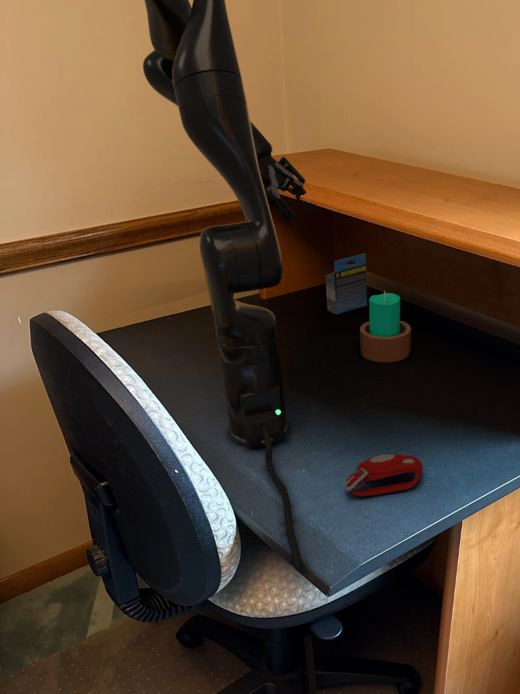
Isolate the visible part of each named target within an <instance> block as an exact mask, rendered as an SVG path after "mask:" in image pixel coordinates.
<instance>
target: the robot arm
mask: <svg viewBox="0 0 520 694" xmlns="http://www.w3.org/2000/svg"><path fill="white" fill-rule="evenodd" d="M143 1H144V5H145V11H146V15H147V16H146V17H147V25H148V32H149V39H150V44H151V46H152V48H153V49H154V50H152V51H151V52H149V54H147V56H146V57H145V58H144V60H143V61H142V62H143V63H142V70H143V74H144V77H145V79H146V82H147V83H148V84H149V85H150V87H151V88H152V89H153V90H154V91H155V92H156V93H158V94H159V95H160V96H161V97H163V98H165V99H166V100H167V101H169V102H170V103H172V104H173V105H174V106H176V107H177V108H178V112H179V117H180V122H181V125H182V127H183V130H184V131H185V133H186V135H187V136H188V139H189V140H190V142H192V144H193V145H194V146H195V148H196V149H197V150H198V151H199V153H201V155H202V156H203V157H204V158H205V159H206V160H207V162H209V163H210V165H211V166H212V167H213V168H214V169H215V170H216V171H217V172H218V173H219V175H220V176H221V177H222V178H223V179H224V180H225V182H226V183H227V185H228V186H229V188H230V189H231V191H232V193H233V194H234V196H235V197H236V199H237V201H238V203H239V206H240V208H241V210H242V211H243V212H242V213H243V215H244V218H245V221H244V222H236V223H228V224H221V225H219V224H218V225H214V226H208V227H205V228H204V229H202V231H201V233H200V237H199V251H200V252H199V253H200V258H201V264H202V269H203V273H204V278H205V282H206V286H207V291H208V296H209V302H210V308H211V314H212V319H213V326H214V331H215V338H216V346H217V352H218V358H219V365H220V371H221V378H222V383H223V388H224V389H223V390H224V397H225V403H226V409H227V415H228V420H229V422H228V423H229V432H230V436H231V439H232V440H233V441H234V442H235V443H238V444H240V445H243V446H246V447H247V448H248V449H249V450H251V449H255V448H259V447H263V446H265V447H264V448H265V456H264V457H265V459H264V460H265V466H266V470H267V473H268V475H269V477H270V478H271V480H272V482H273V484H274V485H275V487H276V488H277V489H278V491H279V494H280V497H281V500H282V505H283V515H284V516H283V517H284V525H285V530H286V531H285V532H286V536H287V541H288V544H289V547H290V551H291V557H292V562H293V568H294V569H295V570H296V571H300V570H302V569H303V563H302V559H301V553H300V549H299V544H298V542H297V541H298V540H297V537H296V534H295V530H294V524H293V517H292V508H291V501H290V496H289V493H288V489H287V488H286V485H284V483H283V482H282V480H281V478H279V476H278V475H277V473H276V470H275V467H274V463H273V444H276V443H280V442H284V441H286V436H287V433H288V429H289V427H288V420H287V416H286V415H287V413H286V405H285V396H284V395H285V394H284V386H283V385H284V384H283V374H282V364H281V363H282V362H281V354H280V343H279V334H278V333H279V332H278V324H277V318H276V316H275V314H274V313H273V312H272V311H271V310H270V309H267V308H265V307H262V306H259V305H254V304H248V303H245V302H241V301H239V300H237V299H235V298H234V295H235V294H239V293H247V292H253V291H257V290H259V291H260V290H264V289H269V288H270V289H271V288H274V287H277V286H279V285H280V283H281V281H282V279H283V272H284V270H283V259H282V251H281V247H280V243H279V239H278V235H277V231H276V227H275V223H274V220H273V217H272V216H273V215H272V213H271V209H274V211H276V213H277V214H278V215H279V216H280V218H282V219H283V221H284V222H285V223H287V224H288V223H291V222H292V221H293V219H294V218H295V217H296V213H295V211H294V210H293V208H291V206H290V205H288V203H287V202H286V201H285V200H284V199H283V198H282V197H281V195H280V192H279V190H280V191H281V192H284V193H285V192H287V193H290V194H291V195H293V196H294V198H295V199H296V200H297V202H298V203H299V204H300V205H301V206H302V207H303V208H304V210H305V211H307V212H311V211H312V209H314V207H315V206H316V204H312V203H308V202H306V201H303V200H300V196H301V195H304V194H306V192H307V191H306V190H305V188H304V186H305V185H304V184H305V183H306V179H305V178H304V176H302V174H301V173H300V172H299V171H298V170H297V169H296V167H294V165H293V164H291V162H290V161H289V160H288V159H287V158H286V157H285V156H282V157H281V158H280V159H279V160H278V161H277V160H276V159H275V158H274V157H273V156H272V152H273V145H272V143H270V142H269V140H268V139H267V138H266V137H265V136H264V135H263V134H262V132H261V131H260V130H259V129H258V128H257V126H256V125H255V124H254V123H253V122H252V121H251V118H250V113H249V106H248V101H247V96H246V91H245V86H244V80H243V77H242V72H241V68H240V63H239V60H238V56H237V51H236V47H235V43H234V38H233V34H232V30H231V25H230V20H229V17H228V16H229V15H228V9H227V5H226V0H192V4H191V2H190V0H143ZM295 195H296V196H295ZM301 199H302V198H301ZM270 208H271V209H270ZM303 643H304V652H305V660H306V669H307V679H308V688H309V689H308V690H309V694H318V689H317V680H316V670H315V669H316V668H315V660H314V652H313V651H314V649H313V641H312V634H309V635H307V636H304V637H303Z"/></svg>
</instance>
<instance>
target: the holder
mask: <svg viewBox="0 0 520 694" xmlns="http://www.w3.org/2000/svg"><path fill="white" fill-rule="evenodd" d="M359 338H360V341H359V342H360V355H361V356H362V357H363V358H364V359H366V360H368V361H370V362H376V363H395V362H399V361H402V360H405V359H407V358H408V357H409V355H410V354H411V349H412V348H411V346H412V328H411V325H409V323H407V322H406V321H403V320H400V335H397V336H392V337H379V336H373V335H371V334H370V322H369V320H368V321H366V322H364V323H363V324H362V325H360V327H359Z"/></svg>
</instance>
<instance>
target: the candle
mask: <svg viewBox="0 0 520 694" xmlns="http://www.w3.org/2000/svg"><path fill="white" fill-rule="evenodd" d="M368 310H369V312H368V314H369V315H368V316H369V318H368V319H369V320H368V321H369V322H370V334H371V335H373V336H379V337H392V336H397V335H400V321H401V297H400V295H398V294H395V293H394V292H393V293H392V292H391V293H390V292H386V290H383V293H381V294H377V295H376V294H375V295H374V294H373V295H371V296H370V297H369V299H368Z"/></svg>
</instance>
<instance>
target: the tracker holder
mask: <svg viewBox="0 0 520 694" xmlns="http://www.w3.org/2000/svg"><path fill="white" fill-rule="evenodd" d="M356 470H357V472H354V473H352V474H350V475H349V476H348V477H347V479H346V481H345V483H344V484H343V488H344V489H346V490H347V492H350V493H351V494H352V495H354V496H358V497H370V496H378V495H384V494H389V493H394V492H396V493H397V492H402V491H406V490H410V489H411V488H413V487H414V486H416V485H417V483H418V482H419V481H420V479H421V477H422V475H423V472H424V468H423V463H422V461H421V459H419V458H418V457H416V456H413V455H407V454H400V453H399V454H397V453H380V454H376V455H374V456H371V457H369V458H368V459H365V460H363V461H361V462H360V463H359V464H358V465H357V466H356ZM408 473H410V474H411V473H412V474H415V478H414V479H412V480H409V481H404V482H399V483H393V484H388V485H383V486H378V487H371V488H366V489H355V487H362V486H363V484H364V482H373V481H379V480H382V479H387V478H390V477H393V476H398V475H402V474H408Z"/></svg>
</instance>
